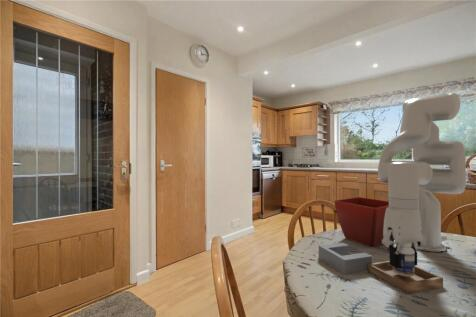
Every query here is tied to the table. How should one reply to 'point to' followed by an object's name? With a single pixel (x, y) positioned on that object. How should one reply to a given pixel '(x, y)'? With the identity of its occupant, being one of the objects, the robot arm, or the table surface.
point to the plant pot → (362, 219)
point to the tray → (406, 278)
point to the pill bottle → (406, 261)
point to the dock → (344, 258)
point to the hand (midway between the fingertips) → (403, 264)
